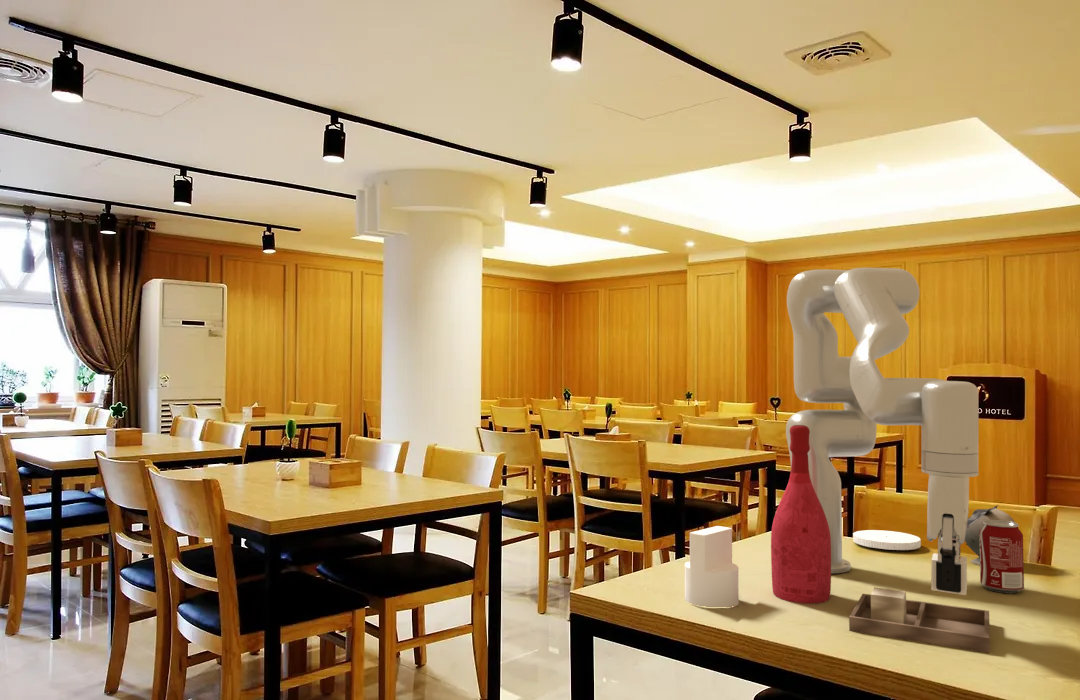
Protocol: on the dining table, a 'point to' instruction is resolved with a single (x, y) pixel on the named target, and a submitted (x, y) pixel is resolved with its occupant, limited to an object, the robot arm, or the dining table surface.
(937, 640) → the organiser
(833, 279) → the robot arm
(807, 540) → the wine bottle
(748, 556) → the dining table surface
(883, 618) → the plain cube
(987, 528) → the soda can
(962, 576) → the letter cube
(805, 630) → the dining table surface
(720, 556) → the cylinder with rectangular tab
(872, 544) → the plastic lid
